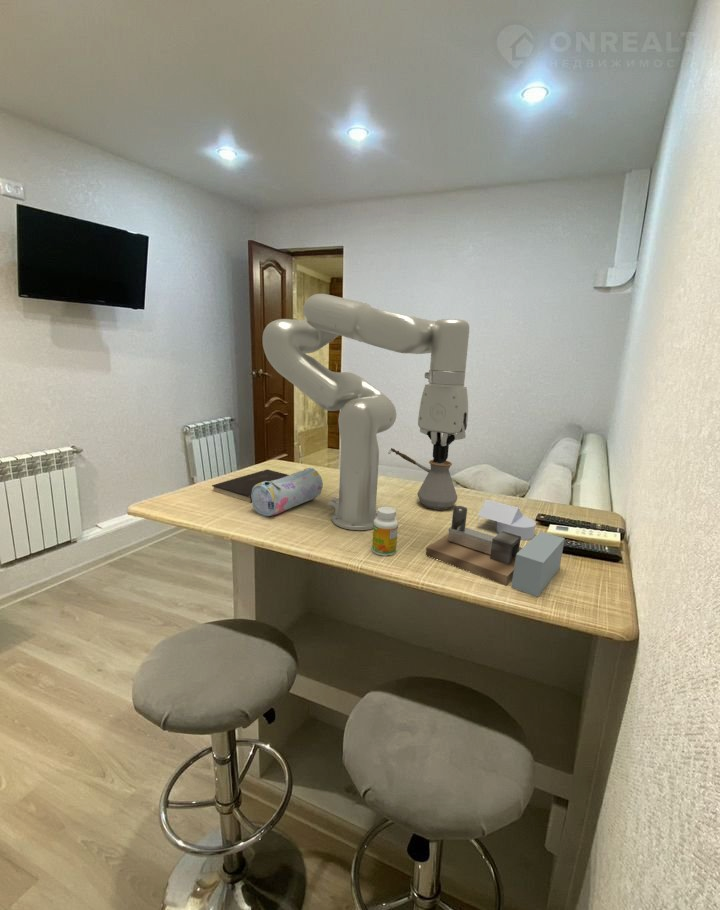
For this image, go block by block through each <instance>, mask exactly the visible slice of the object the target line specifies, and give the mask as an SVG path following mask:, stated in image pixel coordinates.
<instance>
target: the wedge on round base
mask: <svg viewBox="0 0 720 910" xmlns="http://www.w3.org/2000/svg"><path fill="white" fill-rule="evenodd" d="M477 517H479V518H484V519H485V520H486V519H487V520H491V521H493V522H496V523H497V524H496V532H497V533H498V534H499V533H501V532H502V531H504V532H507V533H511V534H514V535H518V536H521V540H520V541H531V540H532V539H533V538H534V537H535V532H536V531H535V530H536V524H537V523H536V521H535V520H534V519H533V518H531V517H528V516H526V515H523V513H522V512H521V510H520V507H517V506H515V505H514V506H513V505H511V504H510V505H509V504H505V503H502V502H498V501H493V500H490V499H487V498H486V499H485V501H484V502H483V505H482V506H481V508H480V510H479V512H478V514H477Z"/></svg>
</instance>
